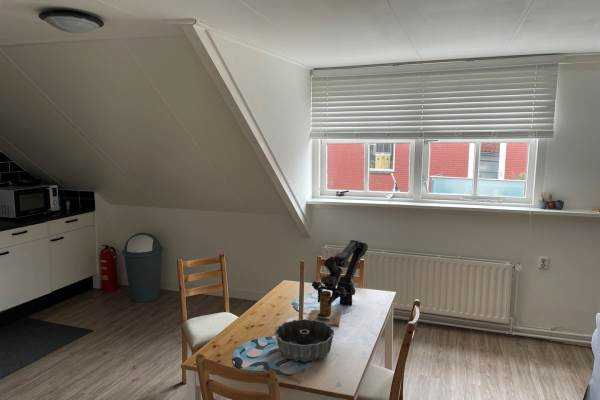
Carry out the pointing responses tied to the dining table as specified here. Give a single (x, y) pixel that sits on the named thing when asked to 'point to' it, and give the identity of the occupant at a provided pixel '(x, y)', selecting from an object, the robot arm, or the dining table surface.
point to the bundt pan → (304, 339)
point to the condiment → (325, 305)
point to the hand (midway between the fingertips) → (323, 303)
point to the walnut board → (331, 322)
